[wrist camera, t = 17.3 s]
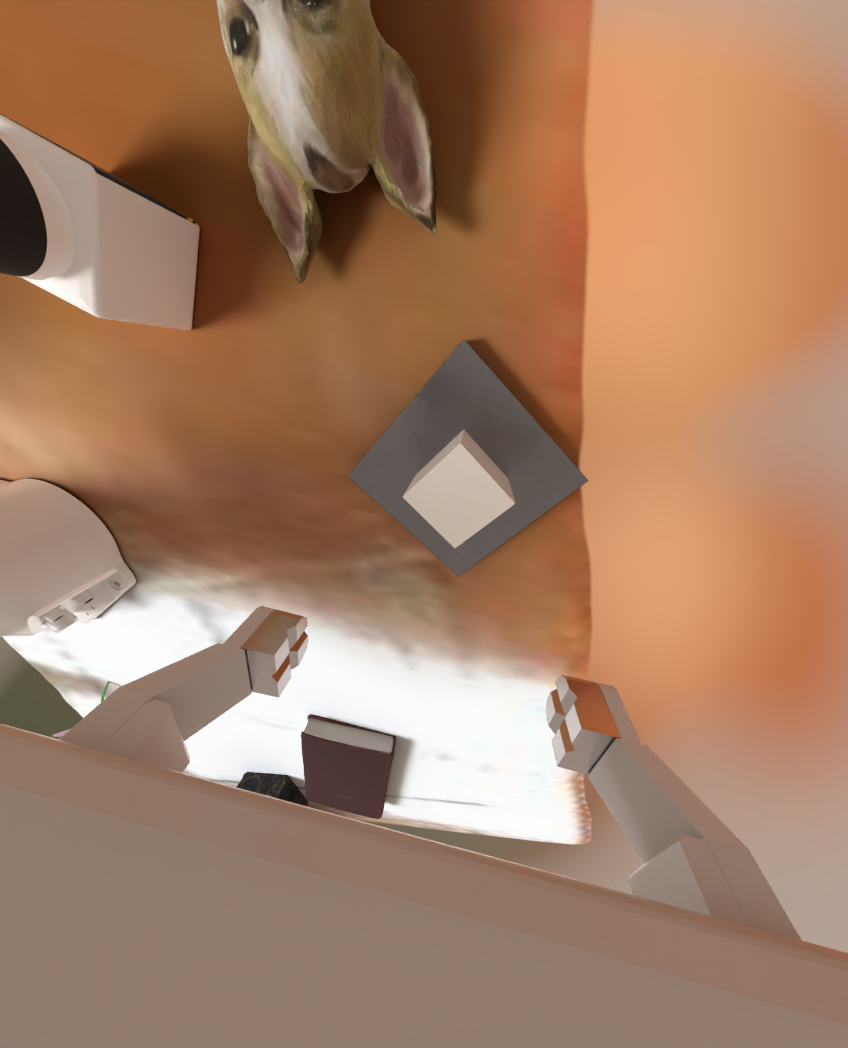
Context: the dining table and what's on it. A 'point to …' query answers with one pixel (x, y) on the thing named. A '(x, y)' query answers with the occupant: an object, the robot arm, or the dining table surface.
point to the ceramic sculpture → (325, 113)
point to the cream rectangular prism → (460, 490)
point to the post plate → (500, 431)
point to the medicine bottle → (92, 235)
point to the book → (346, 766)
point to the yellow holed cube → (272, 787)
